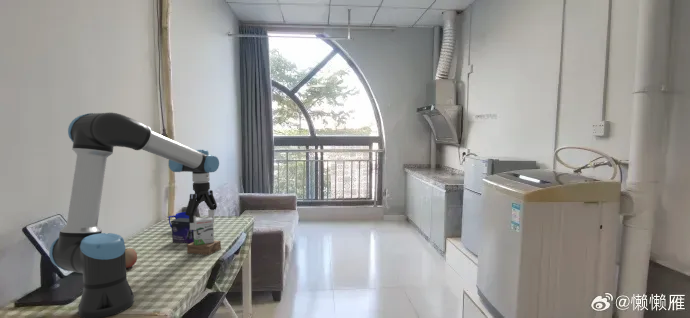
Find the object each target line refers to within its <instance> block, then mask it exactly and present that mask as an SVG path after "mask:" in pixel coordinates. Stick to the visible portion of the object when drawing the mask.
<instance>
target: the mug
mask: <svg viewBox="0 0 690 318" xmlns="http://www.w3.org/2000/svg"><path fill="white" fill-rule="evenodd" d="M185 213H186V211H183V212H177V213H175V215H169V216H168V224H169V226H170V229H172V226H171V218H175V219H178V218H189V216H187V215H185ZM188 213H189V212H188Z"/></svg>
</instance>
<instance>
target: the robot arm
mask: <svg viewBox="0 0 690 318" xmlns="http://www.w3.org/2000/svg"><path fill="white" fill-rule="evenodd" d="M67 135H68V137H69V139H70V140H71V142H72V149H71V150H72V151H73V152H74V153H75V154H76V159H75V165H74V172H73V179H72V187H71V195H70V200H69V206H68V211H67V220H66V225H65V226H64V227H62V228H61V229H60V230H59V234H58V237H57V238H56V239H55V240H54V241H53V242H52V243H51V244H50V247H49V253H48V257H49V259H50V261H51V263H52V264H53V265H54V266H56V267H57V268H59V269H61V270H64V271H66V272H67V271H68V272H74V273H78V274H82V281H83V291H82V293H81V296H80V297H81V298H80V302H79V304H78V307H77V309H78V310H77V312H78V316H79V317H80V318H106V317H110V316H113V315H116V314H120V313H121V312H124V311H126V310H127V309H129V308H130V307H131V306H133V305H134V303H135V295H134V292H133V290H132V288H131V285H130V284H129V282H128V278H127V276H128V275H127V268H126V258H125V249H127V248H126V243H125V239H124V237H123V236H122V235H120V234H117V233H112V232H109V233H106V232H102V229H101V227H99V226H98V223H99V215H100V208H101V200H102V195H103V188H104V187H103V186H104V182H105V181H104V180H105V172H106V167H107V158H109V157H110V156H111V155H113V154H114V153H113V152H114V147H120V148H128V149H131V150H134V151H141V150H143V151H146V152H148V153H151V154H153V155H155V156H159V157H161V158H164V159H166V160H168V168H169V170H170V171H171V172H173V173H181V172H183V173H184V172H187V173H188V172H191V173H192V175H191V176H192V190H193V191H194V193H190V194H189V200H188V203H187V207H186V211H185V212H186V213H185V215H187V216H189V223H190V230H196V218H197V216H196V215H195V214H196V213H197V210H198V208H199V205H201V204H202V203H203V202H204V203H205V205H206V206H207V208H208V210H207V212H208V216H207V217H212V218H213V224H215V210H217V208H218V204H217V202H216V200H215V196H214V192H213V190H212V189H211V188H210V187H211V184H210V182H209V181H210V173H216V172H217V170H218V169H219V166H220V161H219V158H218V157H217V156H216V155H214V154H209V150H208V149H193V148H191V147H189V146H188V145H185V144H183V143H180V142H179V141H175V140H173V139H171V138H169V137H166V136H164V135H162V134H160V133H158V132H156V131H154V130H152V129H151V127H150V126H149V125H147V124H144V123H143V122H140V121H138V120H136V119H134V118H131V117H128V116H126V115H123V114H120V113H116V112H97V113H95V112H94V113H93V112H90V113H85V114H82V115H79V116H77V117H75V118H74V119H72V121H71V122H70V123H69V125H68V128H67ZM188 212H189V213H188Z"/></svg>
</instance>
